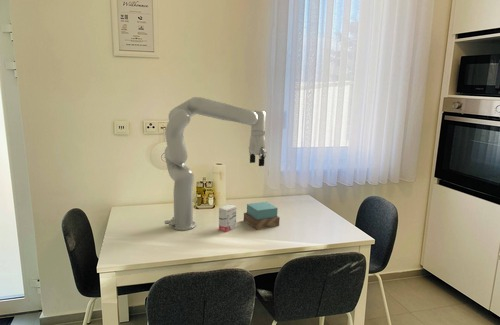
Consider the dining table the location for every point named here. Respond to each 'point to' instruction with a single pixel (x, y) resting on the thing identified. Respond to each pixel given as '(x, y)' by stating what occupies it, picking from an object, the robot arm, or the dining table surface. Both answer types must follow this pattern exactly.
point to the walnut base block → (261, 221)
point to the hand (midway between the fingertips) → (256, 164)
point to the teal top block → (262, 210)
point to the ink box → (227, 218)
